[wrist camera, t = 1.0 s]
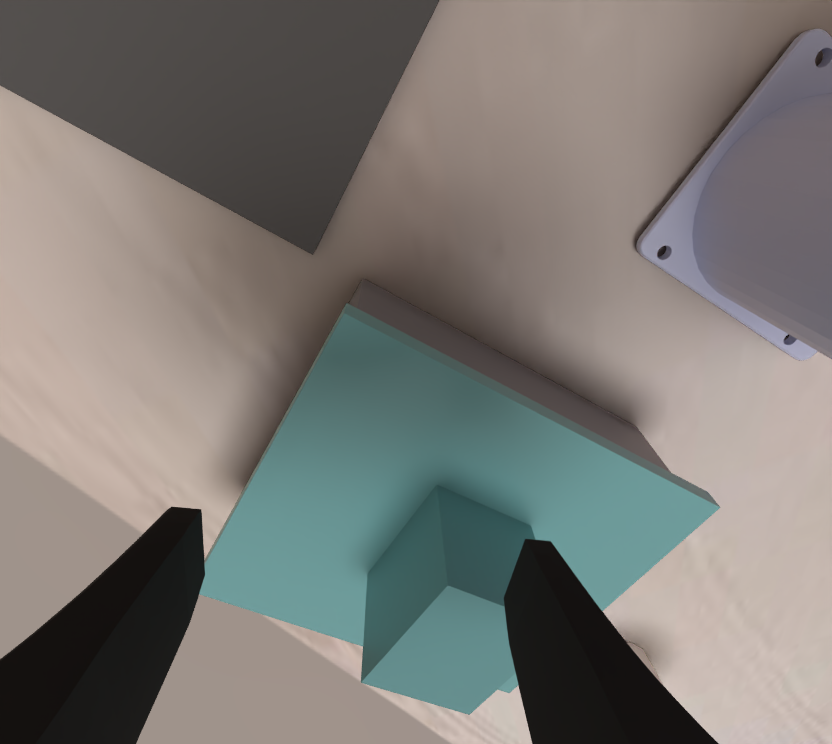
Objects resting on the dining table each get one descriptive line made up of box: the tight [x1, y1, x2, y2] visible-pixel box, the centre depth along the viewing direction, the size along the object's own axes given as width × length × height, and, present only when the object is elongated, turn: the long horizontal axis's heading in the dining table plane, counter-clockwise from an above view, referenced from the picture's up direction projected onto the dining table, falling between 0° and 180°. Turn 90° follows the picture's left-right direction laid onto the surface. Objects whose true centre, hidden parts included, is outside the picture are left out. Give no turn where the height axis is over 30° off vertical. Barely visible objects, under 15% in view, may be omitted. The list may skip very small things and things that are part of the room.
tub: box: [349, 279, 671, 473], centre depth 21 cm, size 14×12×4 cm
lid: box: [199, 303, 720, 715], centre depth 17 cm, size 15×13×6 cm
